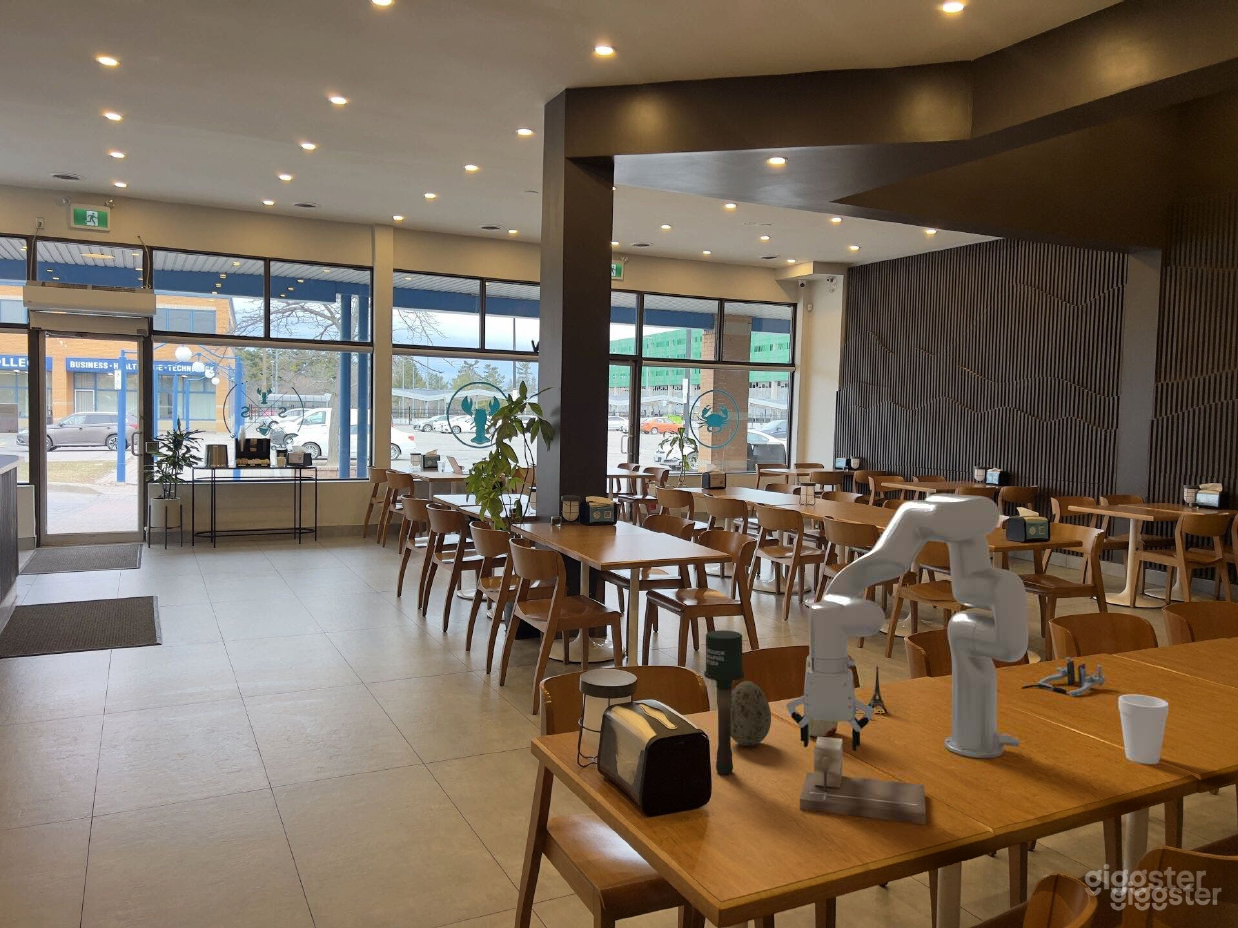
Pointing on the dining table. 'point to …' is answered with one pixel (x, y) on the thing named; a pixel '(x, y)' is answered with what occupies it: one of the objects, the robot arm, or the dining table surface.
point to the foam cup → (1143, 726)
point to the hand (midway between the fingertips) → (830, 746)
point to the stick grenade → (724, 686)
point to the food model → (821, 721)
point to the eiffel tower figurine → (874, 701)
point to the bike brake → (1072, 679)
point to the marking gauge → (828, 762)
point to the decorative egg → (749, 714)
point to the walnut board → (867, 799)
